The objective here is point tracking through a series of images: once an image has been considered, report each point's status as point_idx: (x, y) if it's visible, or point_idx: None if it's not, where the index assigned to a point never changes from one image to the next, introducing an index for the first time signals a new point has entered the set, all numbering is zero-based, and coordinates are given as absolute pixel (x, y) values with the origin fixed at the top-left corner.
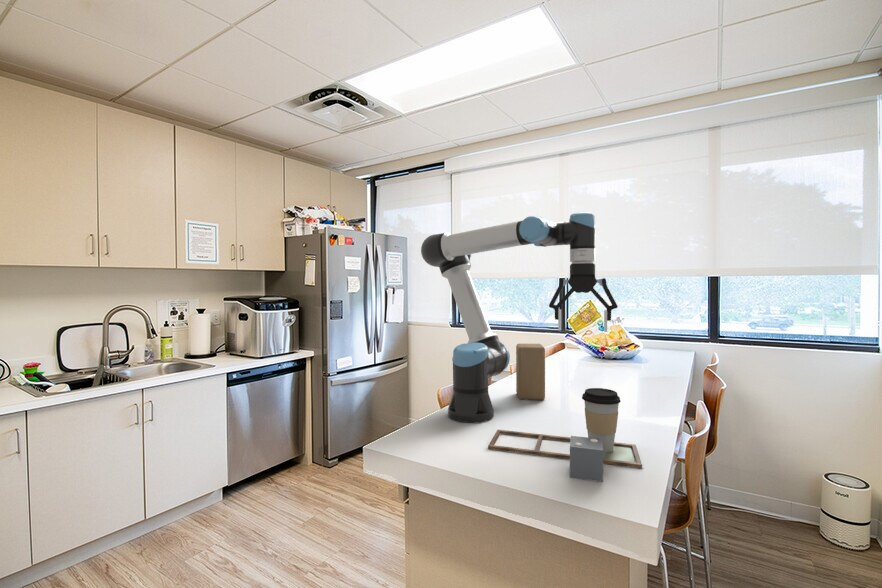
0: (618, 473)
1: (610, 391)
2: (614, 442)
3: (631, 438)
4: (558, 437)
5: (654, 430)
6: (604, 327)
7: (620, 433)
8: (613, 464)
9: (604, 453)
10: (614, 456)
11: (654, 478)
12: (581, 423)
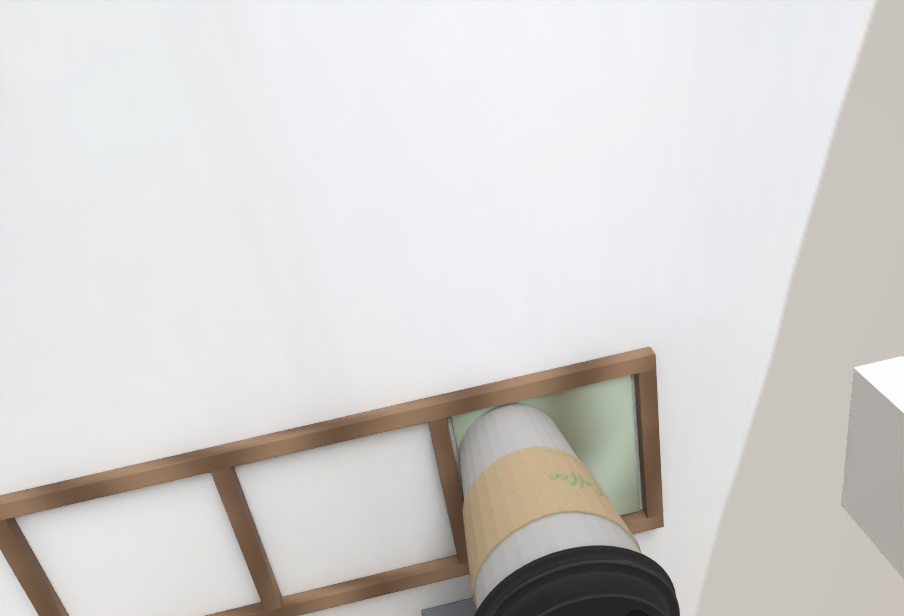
0: None
1: (638, 608)
2: (564, 378)
3: (637, 238)
4: (308, 448)
5: (772, 36)
6: (892, 561)
7: (584, 190)
8: None
9: None
10: None
11: (689, 561)
12: (349, 126)
